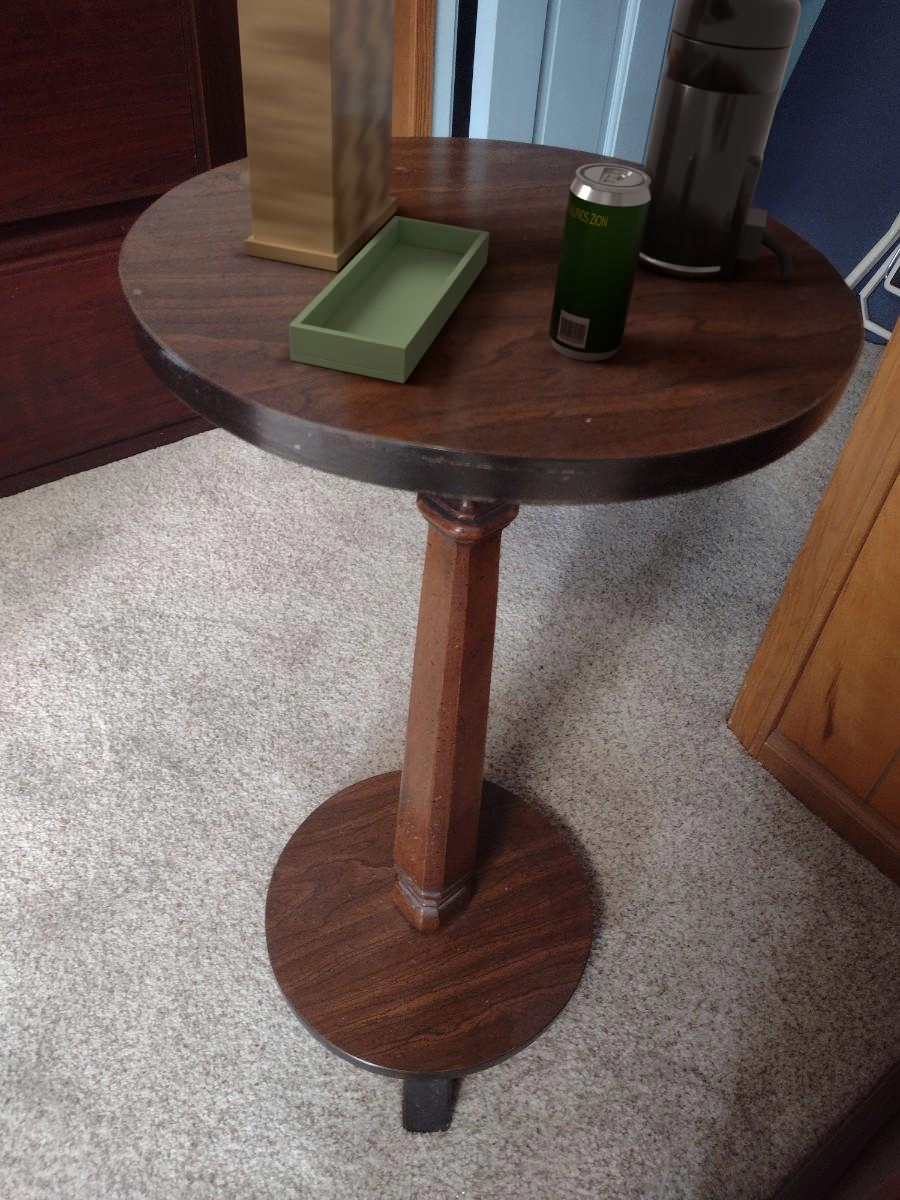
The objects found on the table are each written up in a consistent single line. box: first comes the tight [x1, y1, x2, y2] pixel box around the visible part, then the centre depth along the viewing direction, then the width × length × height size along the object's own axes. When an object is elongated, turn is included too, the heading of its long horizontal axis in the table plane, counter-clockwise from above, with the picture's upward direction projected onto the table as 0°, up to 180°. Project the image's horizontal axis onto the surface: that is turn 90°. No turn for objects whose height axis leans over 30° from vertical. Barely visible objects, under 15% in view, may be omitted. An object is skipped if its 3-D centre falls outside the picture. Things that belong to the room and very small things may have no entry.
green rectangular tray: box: [288, 215, 490, 384], centre depth 73 cm, size 22×8×3 cm, turn 164°
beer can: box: [548, 162, 651, 362], centre depth 67 cm, size 5×5×12 cm
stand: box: [236, 0, 398, 273], centre depth 74 cm, size 15×8×30 cm, turn 164°
